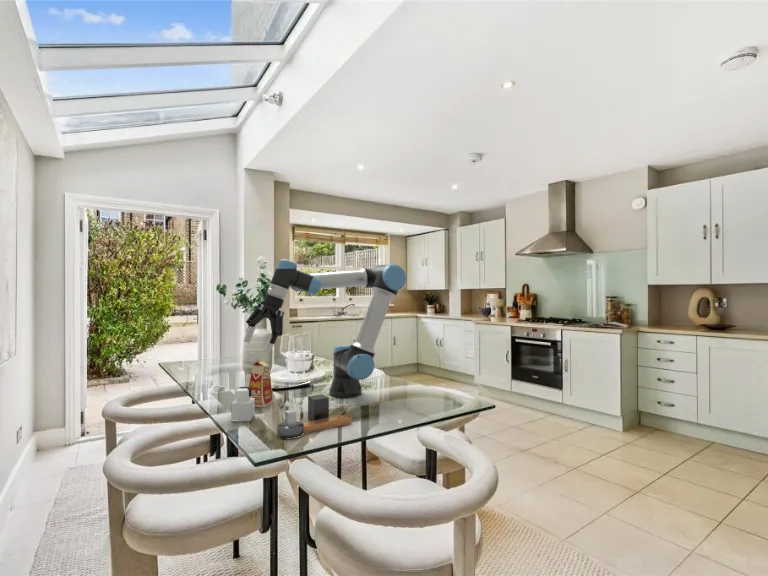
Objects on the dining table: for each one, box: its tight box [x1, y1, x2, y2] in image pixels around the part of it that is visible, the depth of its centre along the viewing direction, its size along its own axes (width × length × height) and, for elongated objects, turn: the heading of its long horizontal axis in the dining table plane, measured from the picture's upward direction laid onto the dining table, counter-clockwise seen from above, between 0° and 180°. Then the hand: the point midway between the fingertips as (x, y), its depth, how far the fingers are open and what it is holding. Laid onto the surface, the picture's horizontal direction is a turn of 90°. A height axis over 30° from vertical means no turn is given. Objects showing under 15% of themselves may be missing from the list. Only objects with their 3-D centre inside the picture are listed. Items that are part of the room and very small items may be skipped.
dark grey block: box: [307, 393, 330, 421], centre depth 156 cm, size 6×6×9 cm
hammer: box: [276, 409, 352, 439], centre depth 147 cm, size 28×9×8 cm, turn 123°
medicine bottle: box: [230, 386, 255, 422], centre depth 157 cm, size 7×7×12 cm
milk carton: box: [248, 358, 274, 408], centre depth 176 cm, size 9×9×20 cm
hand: (256, 346), depth 161 cm, fingers open, 13 cm apart
